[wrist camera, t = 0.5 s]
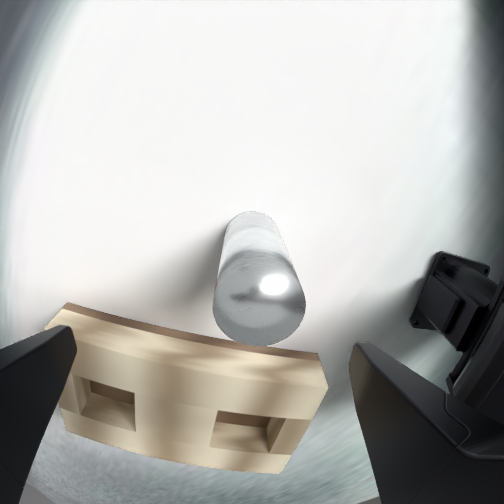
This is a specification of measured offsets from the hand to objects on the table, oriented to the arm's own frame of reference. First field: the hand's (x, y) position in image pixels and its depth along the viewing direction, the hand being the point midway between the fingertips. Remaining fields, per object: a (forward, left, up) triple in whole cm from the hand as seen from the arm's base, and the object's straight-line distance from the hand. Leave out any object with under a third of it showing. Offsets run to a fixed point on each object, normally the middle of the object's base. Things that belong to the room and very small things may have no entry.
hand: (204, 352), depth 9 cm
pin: (-2, 0, -12) cm, 12 cm away
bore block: (+1, +14, -12) cm, 18 cm away
